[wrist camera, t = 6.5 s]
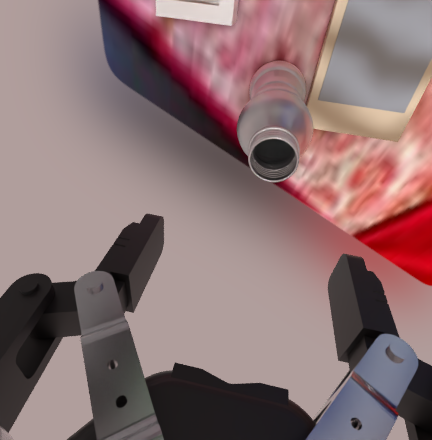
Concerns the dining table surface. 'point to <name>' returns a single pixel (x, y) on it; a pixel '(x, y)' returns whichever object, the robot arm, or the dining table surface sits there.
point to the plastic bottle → (275, 121)
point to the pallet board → (372, 67)
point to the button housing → (200, 10)
